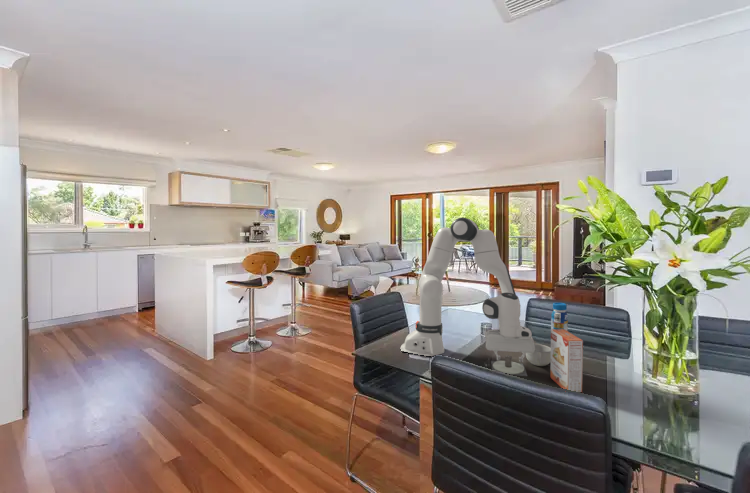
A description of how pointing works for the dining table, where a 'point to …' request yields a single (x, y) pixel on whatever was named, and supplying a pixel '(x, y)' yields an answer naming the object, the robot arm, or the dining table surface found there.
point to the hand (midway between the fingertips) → (509, 360)
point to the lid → (508, 366)
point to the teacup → (540, 355)
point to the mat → (513, 374)
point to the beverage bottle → (559, 316)
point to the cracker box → (566, 360)
